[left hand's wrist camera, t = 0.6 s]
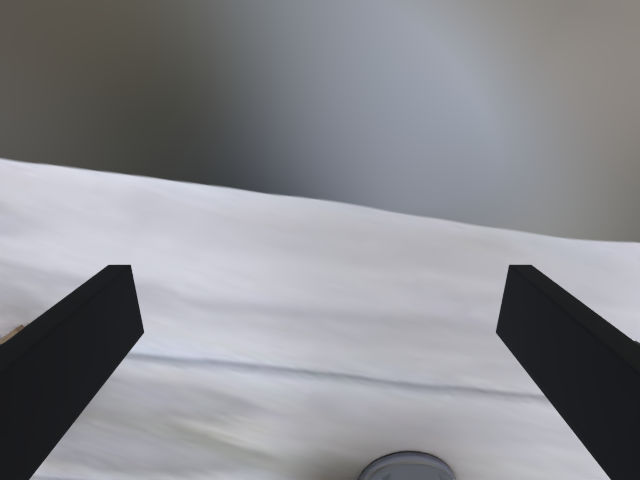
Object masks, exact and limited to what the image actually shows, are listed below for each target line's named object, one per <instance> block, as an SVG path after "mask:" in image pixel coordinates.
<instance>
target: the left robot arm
mask: <svg viewBox="0 0 640 480" xmlns="http://www.w3.org/2000/svg"><path fill="white" fill-rule="evenodd" d="M143 333H144V329H143V324H142V319H141V314H140V309H139V304H138V299H137V294H136V289H135V284H134V279H133V274H132V269H131V265H108V266H107V267H105V268H104V269H102V270H101V271H100V272H98V273H97V274H96V275H94V276H93V277H92V278H90V279H89V280H88V281H86V282H85V283H84V284H82V285H81V286H80V287H78V288H77V289H76V290H74V291H73V292H72V293H70V294H69V295H68V296H66V297H65V298H64V299H62V300H61V301H59V302H58V303H57V304H55V305H54V306H53V307H51V308H50V309H49V310H47V311H46V312H45V313H43V314H42V315H41V316H39V317H38V318H37V319H35V320H34V321H33V322H31V323H30V324H29V325H27V326H26V327H25V328H23V329H22V330H20V331H19V332H18V333H16V334H15V335H14V336H12V337H11V338H10V339H8V340H7V341H6V342H4V343H2V344H0V480H29V479H30V478H31V477H32V475H33V474H34V473H35V471H36V470H37V469H38V468H39V466H40V465H41V464H42V462H43V461H44V460H45V459H46V457H47V456H48V455H49V454H50V452H51V451H52V450H53V448H54V447H55V446H56V445H57V443H58V442H59V441H60V439H61V438H62V437H63V436H64V434H65V433H66V432H67V430H68V429H69V428H70V427H71V425H72V424H73V423H74V422H75V420H76V419H77V418H78V416H79V415H80V414H81V413H82V411H83V410H84V409H85V407H86V406H87V405H88V404H89V402H90V401H91V400H92V399H93V397H94V396H95V395H96V393H97V392H98V391H99V390H100V388H101V387H102V386H103V384H104V383H105V382H106V381H107V379H108V378H109V377H110V376H111V374H112V373H113V372H114V370H115V369H116V368H117V367H118V365H119V364H120V363H121V361H122V360H123V359H124V358H125V356H126V355H127V354H128V353H129V351H130V350H131V349H132V347H133V346H134V345H135V344H136V342H137V341H138V340H139V338H140V337H141V336H142V335H143ZM496 333H497V335H498V336H499V337H500V338H501V340H502V341H503V342H504V344H505V345H506V346H507V347H508V349H509V350H510V351H511V353H512V354H513V355H514V356H515V358H516V359H517V360H518V361H519V363H520V364H521V365H522V367H523V368H524V369H525V370H526V372H527V373H528V374H529V376H530V377H531V378H532V379H533V381H534V382H535V383H536V384H537V386H538V387H539V388H540V390H541V391H542V392H543V393H544V395H545V396H546V397H547V399H548V400H549V401H550V402H551V404H552V405H553V406H554V407H555V409H556V410H557V411H558V413H559V414H560V415H561V416H562V418H563V419H564V420H565V422H566V423H567V424H568V425H569V427H570V428H571V429H572V430H573V432H574V433H575V434H576V436H577V437H578V438H579V439H580V441H581V442H582V443H583V445H584V446H585V447H586V448H587V450H588V451H589V452H590V454H591V455H592V456H593V457H594V459H595V460H596V461H597V462H598V464H599V465H600V466H601V468H602V469H603V470H604V471H605V473H606V474H607V475H608V477H609V478H610V479H611V480H640V343H639V342H637V341H633V340H632V339H630V338H629V337H628V336H626V335H625V334H624V333H622V332H621V331H620V330H618V329H617V328H615V327H614V326H613V325H611V324H610V323H609V322H607V321H606V320H605V319H603V318H602V317H601V316H599V315H598V314H597V313H595V312H594V311H593V310H591V309H590V308H589V307H587V306H586V305H585V304H583V303H582V302H581V301H579V300H578V299H576V298H575V297H574V296H572V295H571V294H570V293H568V292H567V291H566V290H564V289H563V288H562V287H560V286H559V285H558V284H556V283H555V282H554V281H552V280H551V279H550V278H548V277H547V276H546V275H544V274H543V273H542V272H540V271H539V270H538V269H536V268H535V267H533V266H532V265H509V269H508V274H507V279H506V284H505V289H504V294H503V299H502V304H501V309H500V314H499V319H498V324H497V329H496ZM358 480H455V477H454V475H453V473H452V471H451V469H450V468H449V467H448V466H447V465H446V464H445V463H444V462H442V461H441V460H439V459H437V458H435V457H433V456H430V455H427V454H423V453H416V452H404V453H396V454H392V455H389V456H386V457H383V458H381V459H379V460H377V461H375V462H373V463H372V464H371V465H369V466H368V467H367V468H366V469H365V470H364V471H363V472H362V474H361V475H360V477H359V479H358Z"/></svg>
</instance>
